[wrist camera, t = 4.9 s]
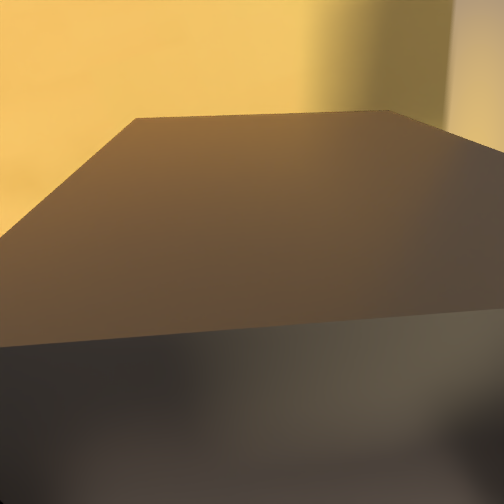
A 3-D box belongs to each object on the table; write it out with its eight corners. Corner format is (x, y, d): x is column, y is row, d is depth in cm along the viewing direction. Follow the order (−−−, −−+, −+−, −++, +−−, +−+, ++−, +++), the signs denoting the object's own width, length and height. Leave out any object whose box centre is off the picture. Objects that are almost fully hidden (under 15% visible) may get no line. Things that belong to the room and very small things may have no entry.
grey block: (388, 110, 10) (854, 281, 3) (352, 300, 14) (498, 575, 7) (135, 118, 10) (-135, 357, 2) (172, 313, 14) (121, 627, 6)
